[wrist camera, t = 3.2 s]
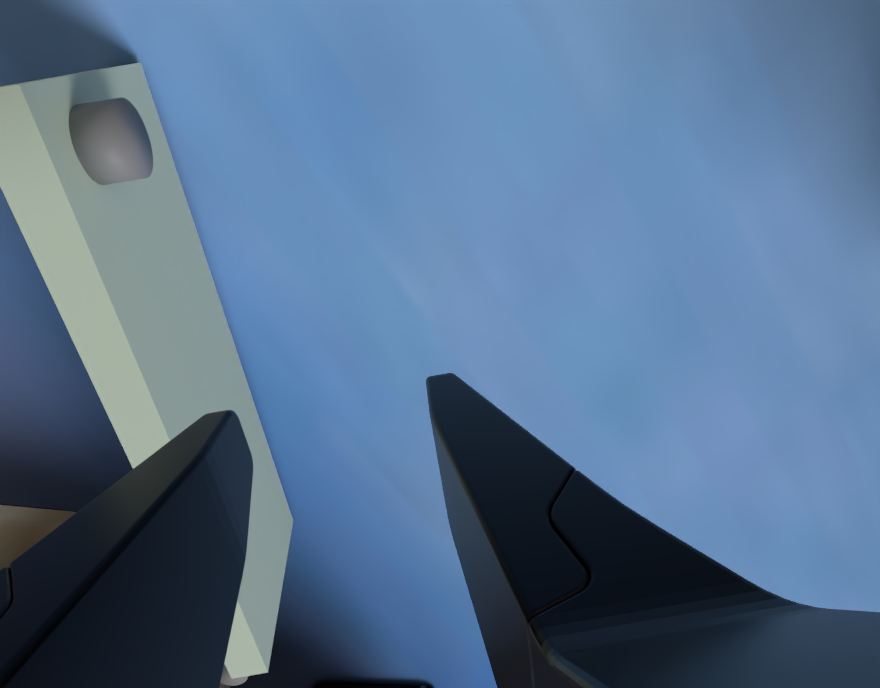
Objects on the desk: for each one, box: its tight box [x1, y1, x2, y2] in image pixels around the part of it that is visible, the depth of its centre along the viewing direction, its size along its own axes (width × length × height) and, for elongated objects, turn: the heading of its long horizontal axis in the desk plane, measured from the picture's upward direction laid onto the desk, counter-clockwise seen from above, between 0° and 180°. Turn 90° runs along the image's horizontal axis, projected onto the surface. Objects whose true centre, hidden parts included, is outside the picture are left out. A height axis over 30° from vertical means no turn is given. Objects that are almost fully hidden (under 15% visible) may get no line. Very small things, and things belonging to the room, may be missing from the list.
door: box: [0, 62, 293, 686], centre depth 19 cm, size 18×3×7 cm, turn 8°
